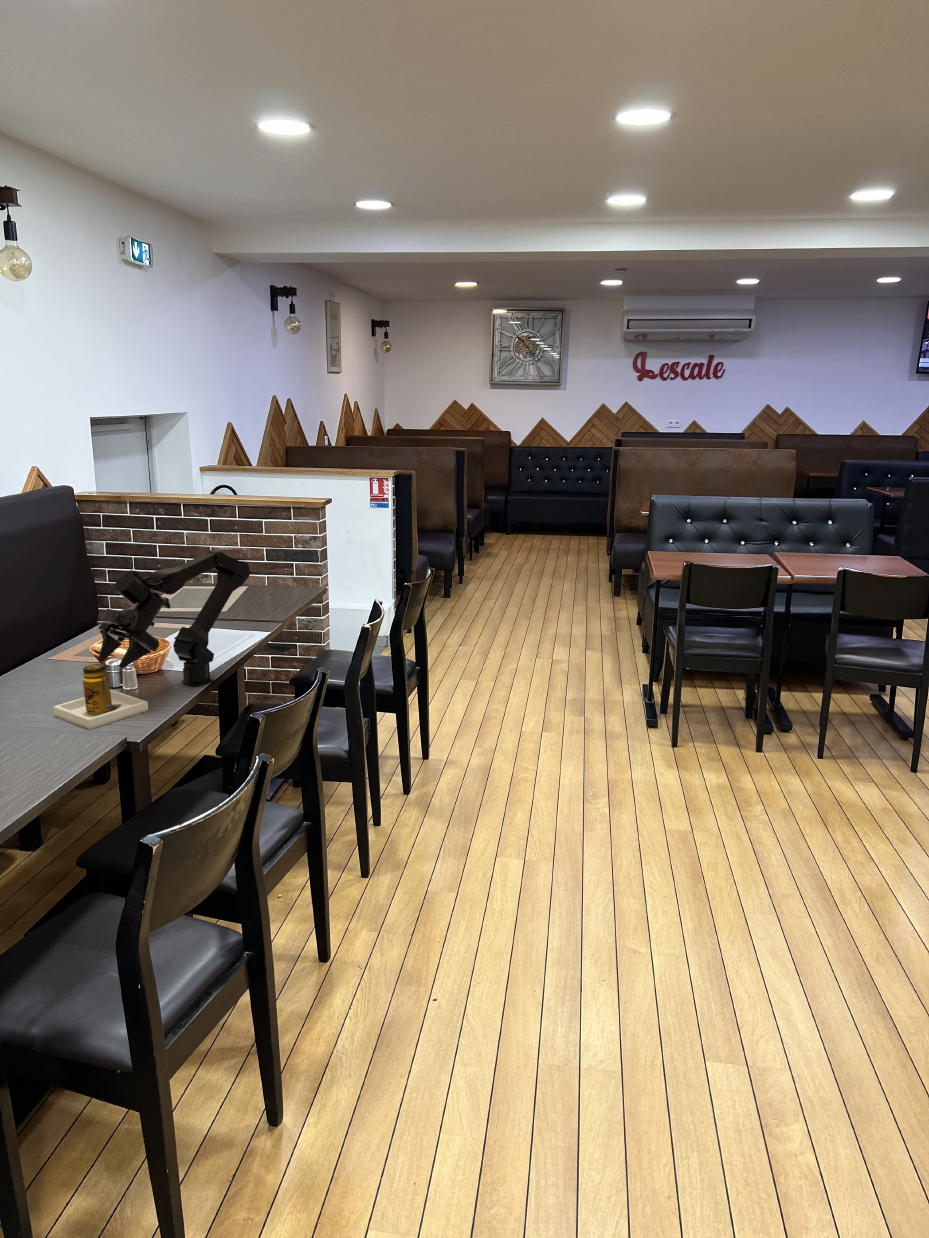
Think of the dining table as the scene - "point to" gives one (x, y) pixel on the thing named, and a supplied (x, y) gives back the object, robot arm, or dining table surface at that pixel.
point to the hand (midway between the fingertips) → (110, 664)
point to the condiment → (97, 691)
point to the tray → (127, 709)
